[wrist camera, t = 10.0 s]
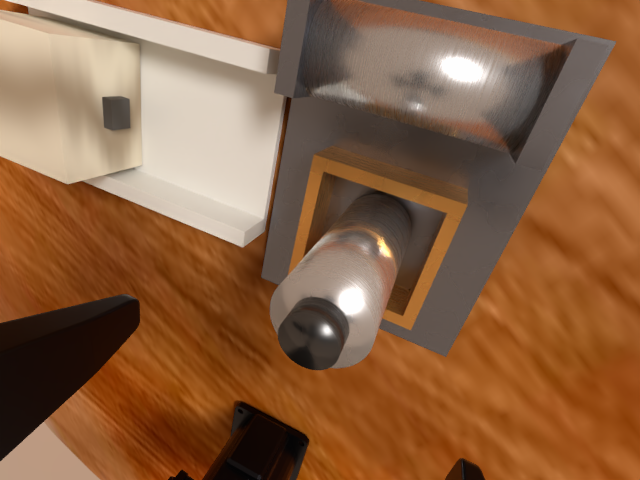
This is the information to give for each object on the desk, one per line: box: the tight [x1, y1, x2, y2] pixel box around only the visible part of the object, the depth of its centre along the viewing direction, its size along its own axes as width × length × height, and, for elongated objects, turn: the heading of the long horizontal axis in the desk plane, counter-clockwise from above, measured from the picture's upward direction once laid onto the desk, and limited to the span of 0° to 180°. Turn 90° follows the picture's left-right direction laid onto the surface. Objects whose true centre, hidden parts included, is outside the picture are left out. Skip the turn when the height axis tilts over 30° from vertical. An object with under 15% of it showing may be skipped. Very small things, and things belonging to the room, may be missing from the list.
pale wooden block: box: [0, 10, 142, 184], centre depth 20 cm, size 7×8×5 cm
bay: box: [6, 0, 287, 247], centre depth 21 cm, size 10×18×2 cm, turn 77°
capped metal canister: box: [270, 194, 411, 370], centre depth 15 cm, size 4×4×10 cm
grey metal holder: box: [261, 0, 616, 357], centre depth 16 cm, size 16×12×5 cm
